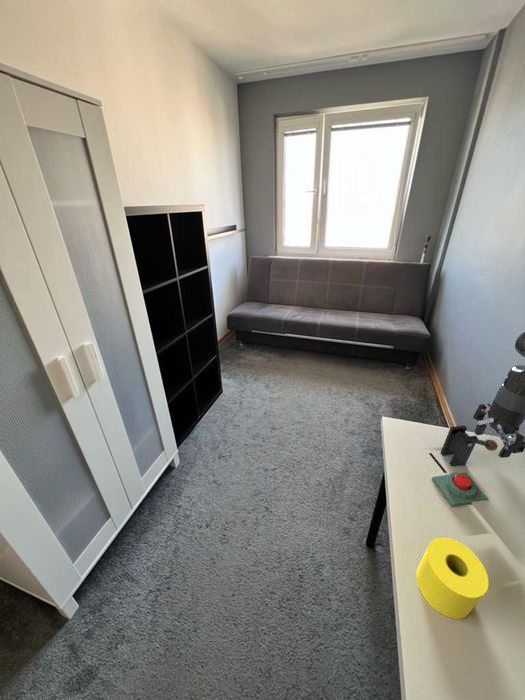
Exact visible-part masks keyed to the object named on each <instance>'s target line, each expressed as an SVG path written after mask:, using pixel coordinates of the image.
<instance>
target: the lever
mask: <svg viewBox="0 0 525 700" xmlns="http://www.w3.org/2000/svg"><path fill="white" fill-rule="evenodd" d="M468 436H470V435H469V434H468V433H467V432H466V431H465V432H463V431H458V432H457V433H456V434H455V435H454V437H455V439H456V440H457V441H458V442H459V441H460V438H461V437H468ZM475 445H481V446H484V448H485V450H488V451H491V452H494V451H497V449H498V447H499V446H498V443H497V441H495V440H494V439H486V440H483V439H479V438H478V440H477V442H476V444H475Z"/></svg>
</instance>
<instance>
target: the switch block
mask: <svg viewBox="0 0 525 700" xmlns="http://www.w3.org/2000/svg"><path fill="white" fill-rule="evenodd" d="M457 474H462V475H464V476H466V477H468V478H469V479H470V481H471V485H470V487H469V489H468V490H462V489H459V488H458V487H457V486H456V485H455V484H454V482H453V480H454V478H455V476H456V475H457ZM431 481H432V483H433V484H434V485H435V486H436V488H437V489H438V491H439V492H440V493H441V495H442V496H443V498H444V499H445V501H446V502H447V503H448V505H449V506H450V508H452V507H461V506H467V505H473V503H474V502H480V501H488V500H489V498H488V497H487V495H486V494H485V493H484V492H483V491H482V489H480V487H479V486H478V485H477V484H476V483H475V482H474V481H473V480H472V478H471V477H470V476H469V475H468V474H467V472H450V473H449V474H443V475H435V476H432V477H431Z"/></svg>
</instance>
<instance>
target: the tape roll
mask: <svg viewBox="0 0 525 700" xmlns="http://www.w3.org/2000/svg"><path fill="white" fill-rule="evenodd" d="M415 574H416V575H415V576H416V577H415V578H416V583H417V586H418V589H419V590H420V593H421V595H422V596H423V598H424V599H425V601H426V602H427V603H428V604H429V606H431V608H433V609H434V610H435V611H436V612H437V613H439V614H441V615H443V616H445V617H446V618H449V619H454V620H461V619H464V618H465V617H467V616H468V615H469V614H470V613H471V611H472V610H473V609H474V608H475V607H476V605H477V604H478V603H479V601H480V600H481V599H482V597H483V596H484V595H486V593H487V591H488V588H489V575H488V573H487V570H486V568H485V566H484V564H483V562H482V561H481V560H480V558H479V557H478V556H477V554H476V553H474V552H473V550H471V548H469V547H467V546H466V545H464V544H463V543H462V542H460V541H459V540H456V539H454V538H450V537H446V536H444V537H443V536H441V537H436V538H433V539H432V540H431V541H430V542H429V544H428V546H427V548H426V550H425V552H424V554H423V557H422V558H421V560H420V562H419V564H418V566H417V569H416V572H415Z"/></svg>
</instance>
